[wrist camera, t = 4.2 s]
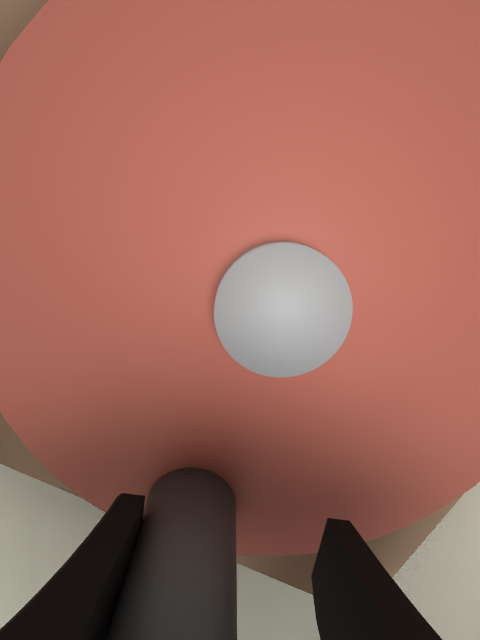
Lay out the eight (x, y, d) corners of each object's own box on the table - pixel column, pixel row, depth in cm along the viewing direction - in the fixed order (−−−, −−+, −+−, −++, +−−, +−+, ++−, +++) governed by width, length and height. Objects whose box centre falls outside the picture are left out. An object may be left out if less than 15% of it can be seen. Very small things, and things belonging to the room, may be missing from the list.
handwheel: (61, -219, 8) (-425, -1400, 2) (705, 115, 10) (1390, -7, 4) (-71, 441, 12) (-351, 661, 6) (395, 583, 14) (508, 853, 8)
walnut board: (686, 164, 12) (749, 160, 10) (349, 577, 16) (360, 614, 15) (127, -248, 9) (106, -334, 8) (-94, 385, 13) (-132, 407, 12)
